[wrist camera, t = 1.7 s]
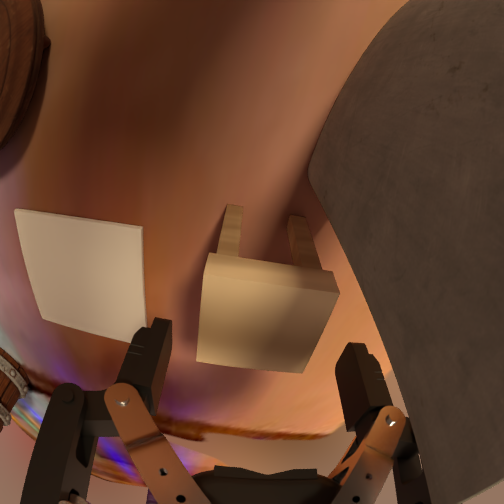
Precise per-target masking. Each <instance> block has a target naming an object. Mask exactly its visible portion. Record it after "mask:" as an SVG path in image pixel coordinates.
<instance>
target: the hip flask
mask: <svg viewBox="0 0 504 504" xmlns="http://www.w3.org/2000/svg"><path fill="white" fill-rule="evenodd" d="M308 178H309V181H310V184H311V186H312V188H313V190H314V191H315V193H316V195H317V197H318V199H319V201H320V203H321V205H322V207H323V209H324V211H325V213H326V215H327V217H328V219H329V221H330V223H331V225H332V227H333V229H334V231H335V233H336V235H337V237H338V239H339V242H340V244H341V246H342V248H343V250H344V252H345V254H346V256H347V259H348V261H349V263H350V265H351V267H352V270H353V272H354V274H355V276H356V279H357V281H358V283H359V285H360V288H361V290H362V292H363V295H364V297H365V299H366V302H367V304H368V306H369V309H370V311H371V314H372V316H373V319H374V321H375V324H376V326H377V329H378V331H379V334H380V336H381V339H382V341H383V344H384V347H385V349H386V352H387V355H388V357H389V360H390V363H391V365H392V368H393V371H394V373H395V377H396V379H397V382H398V385H399V388H400V391H401V394H402V397H403V400H404V403H405V406H406V409H407V413H408V415H409V419H410V422H411V425H412V429H413V432H414V436H415V439H416V443H417V446H418V450H419V453H420V457H421V461H422V465H423V469H424V473H425V477H426V481H427V485H428V489H429V494H430V499H431V503H432V504H461V503H463V502H465V501H467V500H469V499H471V498H473V497H475V496H477V495H479V494H481V493H483V492H485V491H486V490H488V489H490V488H492V487H494V486H495V485H497V484H499V483H500V482H502V481H504V0H409V1H408V2H407V3H406V4H405V5H404V6H402V7H401V8H400V9H399V10H398V11H397V12H396V13H395V14H394V15H393V16H392V17H391V18H390V20H389V21H388V22H387V23H386V24H385V25H384V26H383V28H382V29H381V30H380V31H379V33H378V34H377V35H376V37H375V38H374V39H373V40H372V42H371V43H370V45H369V46H368V48H367V49H366V51H365V52H364V53H363V55H362V57H361V58H360V60H359V61H358V63H357V64H356V66H355V68H354V69H353V71H352V73H351V74H350V76H349V78H348V79H347V81H346V83H345V85H344V87H343V88H342V90H341V92H340V94H339V96H338V98H337V100H336V102H335V104H334V106H333V108H332V110H331V112H330V114H329V116H328V118H327V121H326V123H325V125H324V127H323V129H322V132H321V134H320V137H319V139H318V142H317V144H316V147H315V150H314V152H313V155H312V158H311V161H310V164H309V167H308Z"/></svg>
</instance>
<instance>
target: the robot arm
mask: <svg viewBox="0 0 504 504" xmlns="http://www.w3.org/2000/svg"><path fill="white" fill-rule="evenodd" d="M171 350H172V320H168V319H162V318H157V317H155V318H154V321H153V323H152V326H151V328H147V327H141V328H140V329H139V330H138V331H137V332H136V333H135V334H134V336H133V338H132V341H131V343H130V346H129V348H128V352H127V353H126V356H125V359H124V361H123V364H122V367H121V369H120V372H119V375H118V377H117V380H116V382H115V383H114V384H113V385H112V386H110V387H109V388H108V389H105V390H102V391H82V389H81V388H80V387H79V386H77V385H76V384H73V383H64V384H61V385H59V386H58V387H57V388H56V389H55V390H54V392H53V394H52V397H51V399H50V402H49V405H48V407H47V410H46V413H45V416H44V419H43V422H42V424H41V427H40V430H39V434H38V437H37V440H36V443H35V446H34V450H33V453H32V456H31V460H30V464H29V467H28V471H27V475H26V479H25V483H24V487H23V492H22V497H21V502H20V504H90V503H89V502H87V501H86V497H87V492H88V486H89V481H90V475H91V470H92V465H93V460H94V456H95V451H96V447H97V442H98V438H99V437H114V436H120V437H121V439H122V441H123V443H124V445H125V447H126V449H127V451H128V453H129V455H130V457H131V459H132V460H133V462H134V464H135V466H136V468H137V470H138V471H139V473H140V475H141V477H142V478H143V480H144V482H145V483H146V485H147V487H148V488H149V490H150V492H151V493H152V495H153V496H154V498H155V500H156V501H157V503H156V504H374V503H375V501H376V499H377V497H378V495H379V493H380V491H381V489H382V487H383V485H384V483H385V481H386V479H387V477H388V475H389V473H390V471H391V469H392V468H393V474H394V481H395V488H396V495H397V501H398V504H432V503H431V499H430V494H429V489H428V485H427V481H426V477H425V473H424V469H423V465H422V468H421V464H422V461H421V464H420V459H421V457H420V459H419V455H418V454H420V453H419V450H418V446H417V443H416V439H415V436H414V432H413V429H412V425H411V422H410V419H409V418H408V417H405V415H404V414H403V412H402V411H401V410H400V409H399V408H397V407H394V406H393V403H392V400H391V397H390V394H389V391H388V388H387V385H386V382H385V380H384V376H383V373H382V370H381V367H380V364H379V362H378V361H377V359H376V358H375V357H374V356H373V354H369V353H368V350H367V347H366V345H365V344H364V343H351V342H349V343H348V344H347V345H346V347H345V349H344V351H343V352H342V354H341V356H340V358H339V360H338V361H337V363H336V367H335V376H336V380H337V385H338V390H339V395H340V399H341V404H342V409H343V414H344V419H345V424H346V430H347V432H351V431H355V432H356V436H355V437H354V439H353V440H352V442H351V444H350V445H349V447H348V449H347V451H346V452H345V454H344V456H343V457H342V459H341V460H340V462H339V463H338V465H337V466H336V468H335V469H334V470H333V471H332V472H331V473H330V474H329V476H328V477H325V476H322V475H319V474H317V469H293V470H289V471H284V472H280V473H275V474H271V475H265V474H261V473H257V472H254V471H250V470H247V469H243V468H237V467H226V466H216V465H215V467H214V470H211V471H205V472H201V473H198V474H195V475H193V476H191V475H190V474H189V473H188V471H187V470H186V468H185V467H184V465H183V464H182V462H181V461H180V459H179V458H178V456H177V455H176V453H175V451H174V450H173V448H172V447H171V445H170V444H169V442H168V440H167V439H166V437H165V436H164V435H163V434H161V433H160V431H159V430H158V428H157V426H156V425H155V423H154V421H153V419H152V417H151V416H150V415H153V416H156V413H157V409H158V404H159V400H160V396H161V392H162V388H163V384H164V380H165V376H166V372H167V368H168V364H169V360H170V356H171ZM461 504H462V503H461Z"/></svg>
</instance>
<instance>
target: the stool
mask: <svg viewBox="0 0 504 504" xmlns="http://www.w3.org/2000/svg"><path fill="white" fill-rule="evenodd" d="M242 214H243V207H242V206H236V205H230V204H227V208H226V212H225V217H224V221H223V226H222V230H221V235H220V239H219V244H218V248H217V253H216V254H215V253H209V255H208V259H207V262H206V266H205V270H204V275H203V285H202V296H201V307H200V318H199V331H198V344H197V358H196V361H197V362H203V363H210V364H217V365H224V366H231V367H239V368H248V369H257V370H267V371H278V372H290V373H303V371H304V369H305V368H306V366H307V364H308V362H309V360H310V358H311V355H312V353H313V351H314V349H315V347H316V345H317V343H318V341H319V339H320V337H321V335H322V333H323V330H324V328H325V326H326V324H327V322H328V320H329V317H330V315H331V313H332V311H333V308H334V306H335V304H336V301H337V299H338V297H339V295H340V292H339V289H338V286H337V283H336V280H335V277H334V275H333V272H332V271H326V270H322V267H321V264H320V260H319V257H318V254H317V251H316V248H315V245H314V242H313V239H312V236H311V233H310V230H309V227H308V224H307V221H306V218H305V217H300V216H295V215H290V217H289V221H288V225H287V233H288V238H289V244H290V249H291V254H292V259H293V265H294V266H293V265H287V264H280V263H273V262H267V261H260V260H254V259H247V258H241V257H238V254H239V244H240V234H241V224H242Z"/></svg>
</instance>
